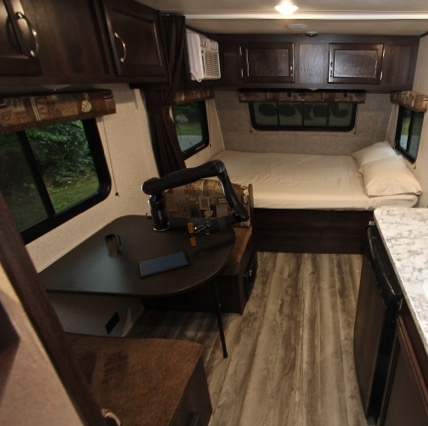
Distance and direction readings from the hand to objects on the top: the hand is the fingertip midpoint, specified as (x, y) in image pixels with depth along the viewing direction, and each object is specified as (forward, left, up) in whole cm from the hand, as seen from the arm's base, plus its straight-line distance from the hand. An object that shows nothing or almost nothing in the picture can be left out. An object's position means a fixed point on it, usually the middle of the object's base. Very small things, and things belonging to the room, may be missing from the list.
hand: (186, 235), depth 150 cm
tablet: (-1, -13, -14) cm, 19 cm away
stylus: (-1, +3, -8) cm, 9 cm away
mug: (-24, -34, -14) cm, 44 cm away
